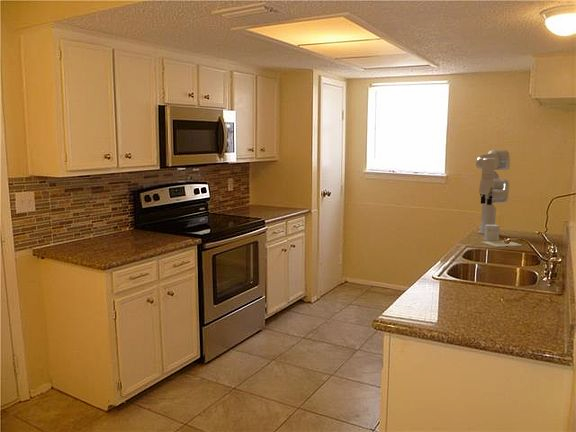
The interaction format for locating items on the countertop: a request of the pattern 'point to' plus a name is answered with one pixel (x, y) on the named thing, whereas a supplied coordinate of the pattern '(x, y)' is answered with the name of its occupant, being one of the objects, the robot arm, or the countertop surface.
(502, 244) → the mat
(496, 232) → the small box
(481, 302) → the countertop surface
